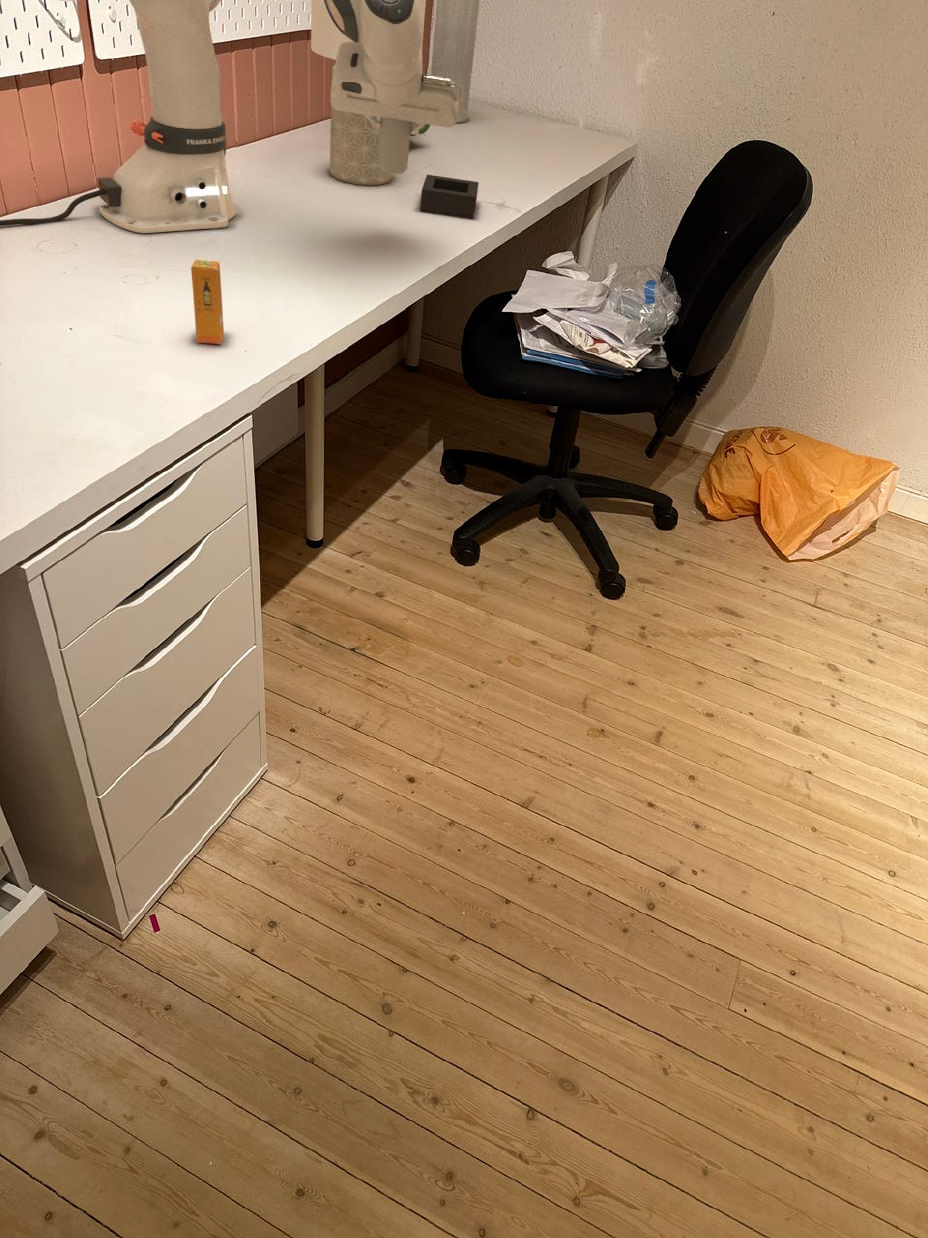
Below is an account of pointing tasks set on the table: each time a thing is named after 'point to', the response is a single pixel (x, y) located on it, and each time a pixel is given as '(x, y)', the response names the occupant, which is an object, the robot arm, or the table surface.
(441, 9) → the vase
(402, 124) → the beverage can
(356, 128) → the lamp
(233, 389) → the table surface
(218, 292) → the supplement box
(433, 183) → the box socket
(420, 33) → the robot arm
